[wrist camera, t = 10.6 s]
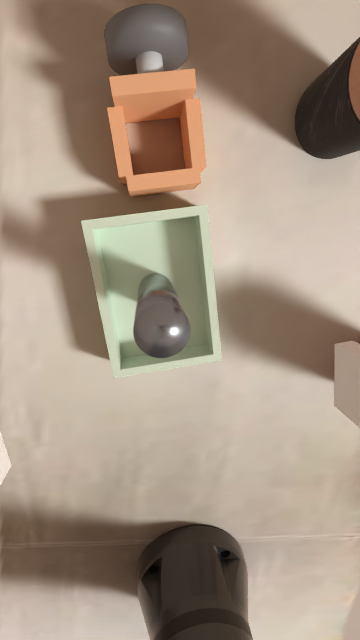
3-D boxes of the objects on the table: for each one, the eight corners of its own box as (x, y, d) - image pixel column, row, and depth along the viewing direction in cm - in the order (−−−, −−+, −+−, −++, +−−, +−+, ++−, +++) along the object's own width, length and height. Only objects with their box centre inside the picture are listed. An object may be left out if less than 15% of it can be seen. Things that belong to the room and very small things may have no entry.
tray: (214, 347, 35) (222, 360, 32) (116, 362, 34) (113, 378, 31) (199, 207, 31) (207, 204, 27) (88, 222, 30) (80, 220, 26)
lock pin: (175, 305, 32) (193, 353, 20) (141, 310, 32) (138, 362, 20) (171, 271, 31) (187, 299, 19) (135, 276, 31) (128, 308, 19)
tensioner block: (199, 188, 30) (217, 174, 23) (124, 197, 30) (118, 186, 23) (186, 60, 27) (202, -1, 20) (102, 68, 27) (87, 8, 20)
